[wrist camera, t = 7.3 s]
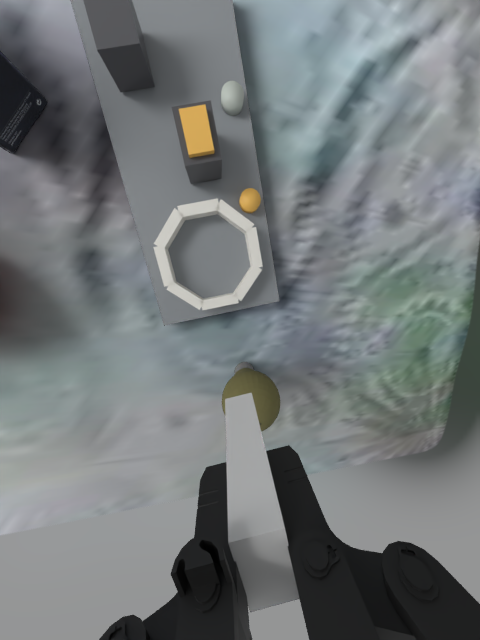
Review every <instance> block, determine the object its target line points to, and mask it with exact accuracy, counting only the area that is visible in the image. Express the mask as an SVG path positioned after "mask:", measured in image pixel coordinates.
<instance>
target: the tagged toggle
mask: <svg viewBox="0 0 480 640" xmlns="http://www.w3.org/2000/svg"><path fill="white" fill-rule="evenodd" d="M172 111H173V116H174V120H175V125H176V129H177V133H178V138H179V142H180V147H181V151H182V156H183V160H184V164H185V168H186V171H187V174H188V177H189V180H190V183H191V184H196V183H201V182H206V181H212V180H217V179H222V157H221V152H220V147H219V141H218V136H217V131H216V126H215V120H214V115H213V110H212V104H211V100H210V101H204V102H198V103H192V104H186V105H180V106H174V107H172Z"/></svg>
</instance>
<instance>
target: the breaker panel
mask: <svg viewBox="0 0 480 640" xmlns="http://www.w3.org/2000/svg"><path fill="white" fill-rule="evenodd" d="M132 2H133V5H134V8H135V11H136V14H137V18H138V21H139V24H140V27H141V30H142V34H143V39H144V43H145V47H146V51H147V56H148V60H149V64H150V68H151V72H152V77H153V81H154V85H155V87H150V88H144V89H138V90H132V91H126V92H120V90H119V89H118V87H117V85H116V83H115V81H114V80H113V78H112V76H111V74H110V72H109V71H108V69H107V67H106V65H105V63H104V62H103V60H102V58H101V56H100V54H99V53H98V51H97V48H96V44H95V41H94V37H93V34H92V30H91V26H90V23H89V19H88V16H87V12H86V8H85V5H84V1H83V0H71V4H72V7H73V10H74V14H75V17H76V21H77V24H78V28H79V31H80V35H81V38H82V42H83V45H84V49H85V52H86V56H87V59H88V63H89V66H90V70H91V73H92V76H93V80H94V83H95V87H96V90H97V94H98V97H99V101H100V104H101V108H102V111H103V115H104V118H105V122H106V125H107V129H108V132H109V136H110V139H111V142H112V146H113V149H114V153H115V156H116V160H117V163H118V167H119V170H120V174H121V177H122V181H123V184H124V188H125V191H126V195H127V198H128V202H129V205H130V209H131V212H132V215H133V219H134V222H135V226H136V229H137V233H138V236H139V240H140V243H141V247H142V250H143V254H144V257H145V261H146V264H147V268H148V271H149V275H150V278H151V281H152V285H153V288H154V292H155V295H156V299H157V302H158V306H159V309H160V313H161V316H162V320H163V323H164V326H165V325H170V324H174V323H179V322H184V321H188V320H193V319H198V318H203V317H207V316H212V315H217V314H221V313H226V312H231V311H236V310H240V309H245V308H250V307H255V306H259V305H264V304H269V303H273V302H278V301H279V295H278V289H277V282H276V276H275V270H274V263H273V257H272V250H271V244H270V238H269V231H268V225H267V219H266V212H265V206H264V199H263V193H262V187H261V180H260V174H259V167H258V161H257V155H256V148H255V142H254V136H253V129H252V123H251V116H250V110H249V104H248V97H247V91H246V85H245V78H244V72H243V65H242V59H241V53H240V46H239V40H238V34H237V27H236V21H235V14H234V8H233V2H232V0H132ZM210 100H211V104H212V110H213V115H214V120H215V126H216V131H217V136H218V141H219V147H220V152H221V157H222V179H217V180H212V181H206V182H201V183H196V184H191V183H190V180H189V177H188V174H187V171H186V168H185V164H184V160H183V156H182V151H181V147H180V142H179V138H178V133H177V129H176V125H175V120H174V116H173V111H172V107H174V106H180V105H186V104H192V103H198V102H204V101H210Z"/></svg>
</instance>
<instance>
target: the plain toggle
mask: <svg viewBox="0 0 480 640" xmlns="http://www.w3.org/2000/svg"><path fill="white" fill-rule="evenodd" d="M83 1H84V5H85V8H86V12H87V16H88V19H89V23H90V26H91V30H92V34H93V37H94V41H95V44H96V48H97V51H98V53H99V54H100V56H101V58H102V60H103V62H104V63H105V65H106V67H107V69H108V71H109V72H110V74H111V76H112V78H113V80H114V81H115V83H116V85H117V87H118V89H119V90H120V92H126V91H132V90H138V89H144V88H150V87H155V85H154V81H153V77H152V72H151V68H150V64H149V60H148V56H147V51H146V47H145V43H144V39H143V34H142V30H141V27H140V24H139V21H138V18H137V14H136V11H135V8H134V5H133V2H132V0H83Z"/></svg>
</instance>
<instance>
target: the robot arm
mask: <svg viewBox="0 0 480 640" xmlns="http://www.w3.org/2000/svg"><path fill="white" fill-rule="evenodd" d="M225 420H226V462H225V463H221V464H217V465H213V466H209V467H206V469H205V471H204V473H203V476H202V478H201V480H200V488H199V498H198V509H197V517H196V527H195V536H194V538H193V539H191V540H190V541H189V542H188V543H187V544H186V545H185V546H184V547H183V548H182V549H181V551H180V553H179V554H178V556H177V558H176V559H175V562H174V565H173V569H172V572H171V576H172V578H173V581H174V583H175V586H176V588H177V590H178V593H177V594H176V595H175V596H174V597H173V598H172V599H171V600H170V601H169V602H168V603H167V604H165V605H164V606H163V607H161V608H160V609H159V610H157V611H156V612H155V613H154V614H152V615H151V616H149V617H148V618H147V619H145V620H144V621H143V622H142V620H141V619H140V618H138V617H136V616H135V615H130V616H125V617H122V618H121V619H119V620H118V621H117V622H115V623H114V624H113V625H111V626H110V627H109V629H108V630H107V631H106V632H105V633H104V634H103V636H102V637H101V638H100V639H99V640H252V636H251V632H250V629H249V616H248V607H249V610H250V612H253V611H257V610H260V609H264V608H267V607H271V606H275V605H279V604H282V603H286V602H290V601H293V600H297V599H300V602H301V606H302V610H303V615H304V619H305V623H306V627H307V632H308V636H309V640H480V604H479V603H478V602H477V601H476V600H475V599H474V598H473V597H472V596H471V595H470V594H469V593H468V592H467V591H466V590H465V589H464V587H462V585H461V584H459V582H458V581H457V580H456V579H454V577H453V576H452V575H451V574H450V573H449V572H448V571H447V570H446V569H445V568H444V567H443V566H442V565H441V564H440V563H439V562H438V561H437V560H436V559H435V558H434V557H432V556H431V555H430V554H429V553H427V552H426V551H425V550H424V549H422V548H420V547H418V546H416V545H414V544H411V543H407V542H401V541H397V542H394V543H391V544H389V545H388V546H387V547H386V549H385V550H384V551H383V553H377V552H370V551H364V550H359V549H356V548H352V547H350V546H349V545H346V544H345V543H343V542H342V541H341V540H340V539H338V538H337V537H336V536H335V535H334V533H333V532H332V531H331V530H330V528H329V526H328V525H327V522H326V520H325V518H324V515H323V513H322V511H321V508H320V506H319V504H318V501H317V499H316V496H315V494H314V492H313V489H312V487H311V484H310V482H309V480H308V477H307V475H306V472H305V470H304V468H303V465H302V463H301V460H300V458H299V455H298V454H297V453H296V452H295V451H294V450H293V449H292V448H291V447H290V446H285V447H281V448H277V449H273V450H269V451H266V449H265V445H264V441H263V437H262V433H261V429H260V424H259V420H258V416H257V412H256V408H255V404H254V400H253V396H252V393H248V394H244V395H239V396H235V397H231V398H227V399H225Z"/></svg>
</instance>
